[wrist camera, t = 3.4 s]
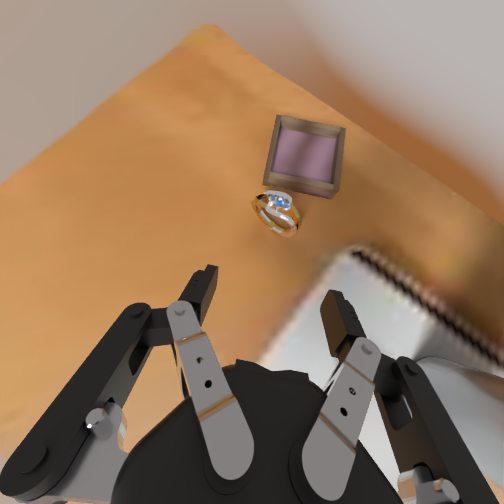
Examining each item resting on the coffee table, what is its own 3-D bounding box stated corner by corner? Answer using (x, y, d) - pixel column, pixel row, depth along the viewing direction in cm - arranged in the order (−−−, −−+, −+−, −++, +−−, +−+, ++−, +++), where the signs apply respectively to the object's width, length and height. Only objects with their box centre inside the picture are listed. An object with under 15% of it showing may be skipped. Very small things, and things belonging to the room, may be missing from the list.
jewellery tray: (337, 140, 33) (345, 128, 30) (331, 198, 30) (338, 190, 28) (274, 128, 33) (276, 114, 30) (262, 185, 30) (263, 175, 28)
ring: (246, 218, 29) (247, 190, 21) (260, 204, 30) (266, 171, 22) (281, 249, 28) (295, 232, 20) (295, 234, 29) (314, 211, 21)
